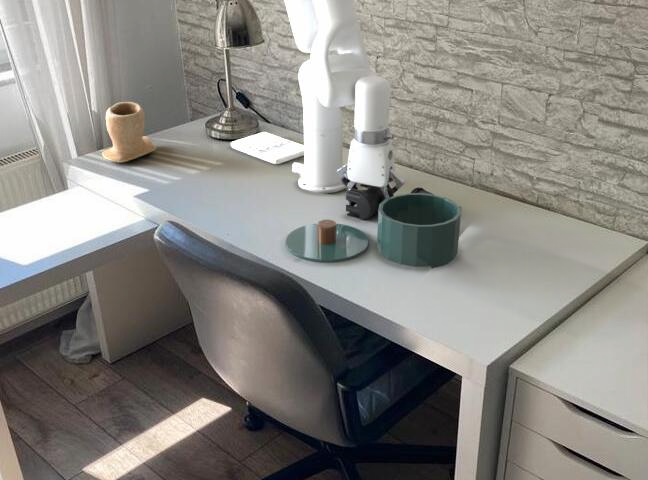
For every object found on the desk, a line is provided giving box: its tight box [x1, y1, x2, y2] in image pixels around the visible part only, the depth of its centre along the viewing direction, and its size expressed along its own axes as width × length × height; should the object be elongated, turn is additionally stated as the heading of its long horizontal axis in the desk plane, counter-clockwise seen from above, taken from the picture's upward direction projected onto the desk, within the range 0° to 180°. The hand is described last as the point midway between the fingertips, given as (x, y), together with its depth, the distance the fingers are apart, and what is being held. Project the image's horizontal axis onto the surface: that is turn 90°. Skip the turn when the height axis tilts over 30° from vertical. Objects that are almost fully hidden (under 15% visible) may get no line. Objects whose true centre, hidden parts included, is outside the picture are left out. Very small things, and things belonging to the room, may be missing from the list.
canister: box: [376, 192, 462, 269], centre depth 166 cm, size 17×17×10 cm
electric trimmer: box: [410, 187, 462, 209], centre depth 187 cm, size 4×16×3 cm, turn 36°
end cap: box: [345, 183, 395, 221], centre depth 183 cm, size 10×7×7 cm
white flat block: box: [230, 131, 304, 165], centre depth 222 cm, size 13×20×2 cm, turn 44°
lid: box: [284, 219, 369, 263], centre depth 170 cm, size 18×18×5 cm
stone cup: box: [101, 101, 157, 163], centre depth 215 cm, size 15×12×15 cm
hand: (369, 208), depth 184 cm, fingers closed on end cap, 7 cm apart
